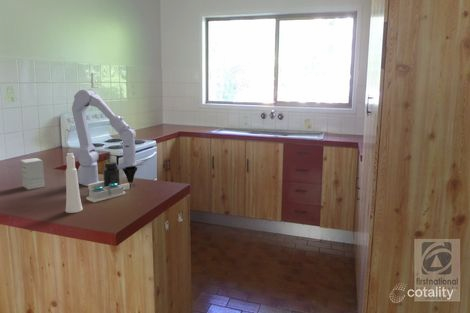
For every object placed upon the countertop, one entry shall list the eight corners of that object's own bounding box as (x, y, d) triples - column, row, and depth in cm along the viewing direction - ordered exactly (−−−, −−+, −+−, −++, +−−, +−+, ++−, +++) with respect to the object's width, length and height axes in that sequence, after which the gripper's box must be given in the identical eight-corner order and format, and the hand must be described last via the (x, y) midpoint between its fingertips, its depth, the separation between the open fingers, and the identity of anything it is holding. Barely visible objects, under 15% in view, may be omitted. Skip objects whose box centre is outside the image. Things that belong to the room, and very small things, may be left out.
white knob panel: (71, 193, 163) (70, 185, 162) (113, 183, 179) (113, 176, 178) (94, 202, 151) (93, 194, 151) (137, 191, 167) (136, 183, 167)
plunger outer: (92, 195, 156) (92, 187, 155) (100, 193, 158) (99, 185, 158) (97, 197, 153) (96, 188, 153) (105, 195, 156) (104, 187, 155)
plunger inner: (107, 192, 161) (107, 183, 160) (114, 190, 164) (114, 182, 163) (112, 193, 159) (111, 185, 158) (119, 191, 161) (119, 183, 161)
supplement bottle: (121, 186, 174) (120, 161, 172) (117, 190, 168) (116, 164, 165) (106, 186, 174) (105, 161, 172) (102, 190, 167) (100, 164, 165)
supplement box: (39, 183, 177) (37, 157, 175) (45, 186, 172) (42, 160, 169) (22, 186, 172) (19, 159, 170) (27, 189, 167) (24, 162, 164)
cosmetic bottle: (77, 206, 146) (73, 151, 142) (85, 210, 142) (82, 153, 138) (62, 210, 141) (57, 153, 137) (70, 214, 138) (65, 155, 133)
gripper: (120, 157, 168) (122, 186, 170) (147, 153, 179) (147, 180, 181) (111, 155, 172) (113, 184, 175) (137, 151, 183) (138, 178, 186)
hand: (130, 182), depth 178 cm, fingers closed
